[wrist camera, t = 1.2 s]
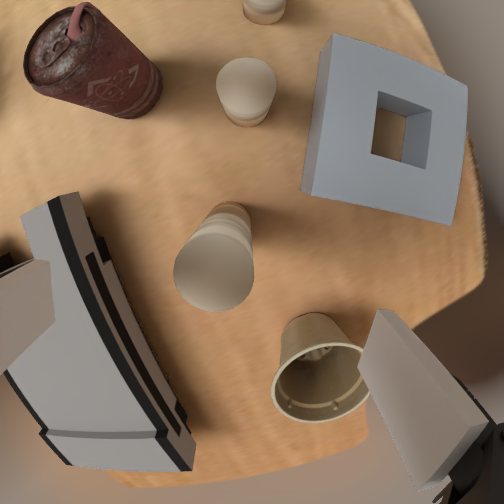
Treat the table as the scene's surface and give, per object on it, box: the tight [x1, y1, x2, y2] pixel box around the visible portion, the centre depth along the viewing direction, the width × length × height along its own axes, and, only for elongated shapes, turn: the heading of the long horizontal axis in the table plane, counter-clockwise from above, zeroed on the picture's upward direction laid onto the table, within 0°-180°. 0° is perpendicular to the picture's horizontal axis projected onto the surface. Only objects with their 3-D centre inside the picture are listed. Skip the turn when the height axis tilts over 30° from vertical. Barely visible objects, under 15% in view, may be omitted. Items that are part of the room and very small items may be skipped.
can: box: [23, 2, 162, 119], centre depth 18 cm, size 6×6×14 cm
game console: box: [0, 192, 196, 472], centre depth 28 cm, size 21×32×8 cm, turn 16°
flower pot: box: [271, 313, 370, 423], centre depth 28 cm, size 9×9×9 cm
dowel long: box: [174, 202, 254, 312], centre depth 22 cm, size 4×4×14 cm
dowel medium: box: [216, 57, 277, 127], centre depth 22 cm, size 4×4×8 cm
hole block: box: [300, 33, 468, 226], centre depth 24 cm, size 14×14×5 cm
